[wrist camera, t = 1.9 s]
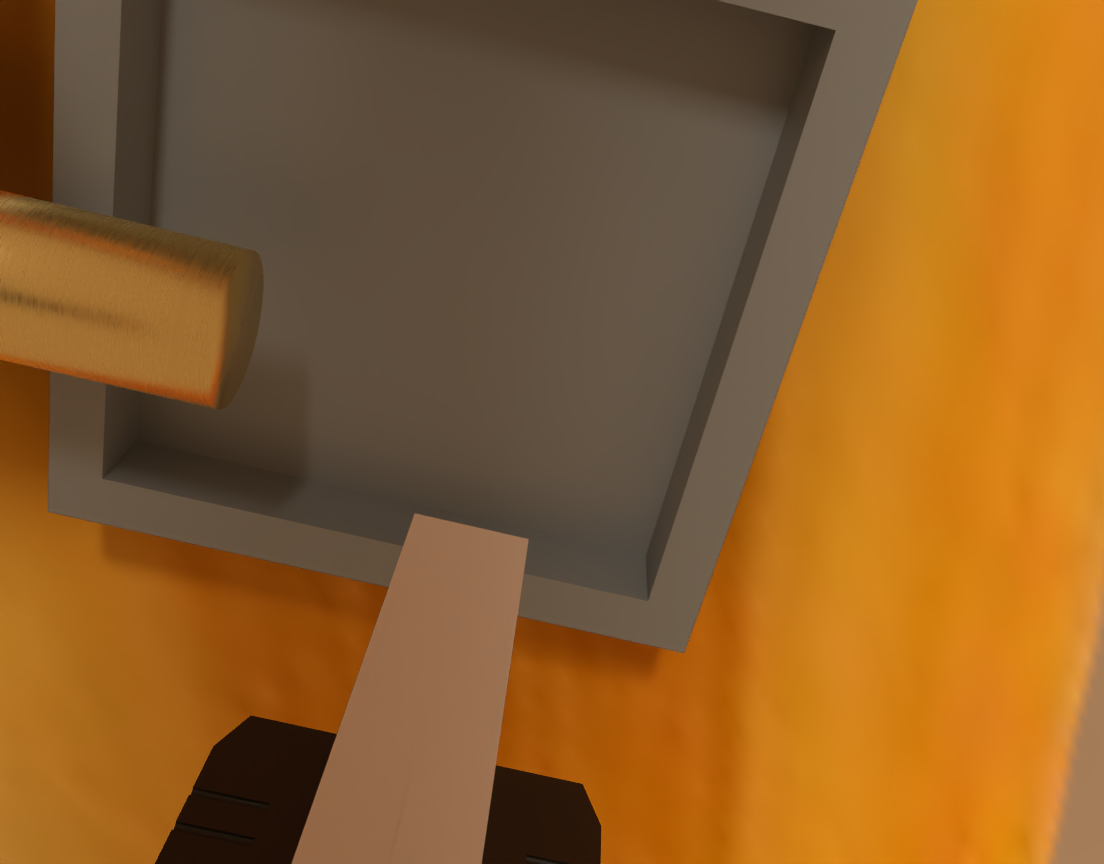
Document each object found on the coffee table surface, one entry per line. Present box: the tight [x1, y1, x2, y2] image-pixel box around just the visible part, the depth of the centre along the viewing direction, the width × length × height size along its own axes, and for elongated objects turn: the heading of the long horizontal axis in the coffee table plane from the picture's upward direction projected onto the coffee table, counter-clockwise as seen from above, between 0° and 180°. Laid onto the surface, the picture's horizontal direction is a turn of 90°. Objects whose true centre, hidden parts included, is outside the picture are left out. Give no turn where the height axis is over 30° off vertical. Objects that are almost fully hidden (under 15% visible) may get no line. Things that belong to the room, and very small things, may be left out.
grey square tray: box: [48, 0, 917, 653], centre depth 22 cm, size 15×15×2 cm
